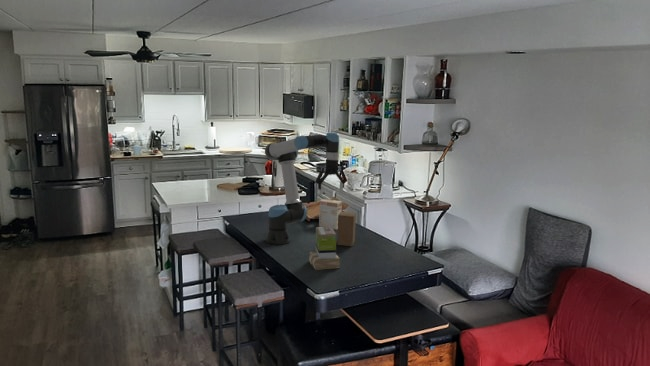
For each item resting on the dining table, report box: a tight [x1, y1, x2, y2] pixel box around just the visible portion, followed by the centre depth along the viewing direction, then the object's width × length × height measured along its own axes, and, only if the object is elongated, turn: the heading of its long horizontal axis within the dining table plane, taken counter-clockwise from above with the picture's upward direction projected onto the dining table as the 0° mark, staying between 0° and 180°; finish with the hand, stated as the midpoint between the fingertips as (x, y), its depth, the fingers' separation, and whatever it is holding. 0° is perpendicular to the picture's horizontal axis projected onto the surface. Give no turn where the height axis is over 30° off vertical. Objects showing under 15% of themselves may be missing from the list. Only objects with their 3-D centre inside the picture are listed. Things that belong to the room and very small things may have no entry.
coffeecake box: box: [318, 198, 343, 231], centre depth 362 cm, size 15×7×20 cm, turn 58°
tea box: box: [315, 226, 337, 259], centre depth 286 cm, size 15×10×15 cm, turn 9°
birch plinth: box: [308, 251, 341, 271], centre depth 287 cm, size 14×14×6 cm
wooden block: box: [336, 211, 357, 247], centre depth 325 cm, size 10×10×20 cm
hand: (331, 194), depth 302 cm, fingers open, 13 cm apart
